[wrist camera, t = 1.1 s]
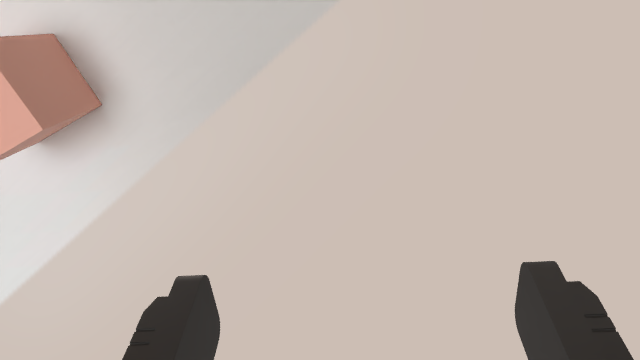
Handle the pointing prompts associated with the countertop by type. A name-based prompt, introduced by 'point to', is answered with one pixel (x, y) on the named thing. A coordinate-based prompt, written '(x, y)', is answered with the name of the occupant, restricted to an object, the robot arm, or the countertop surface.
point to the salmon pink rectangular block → (38, 91)
